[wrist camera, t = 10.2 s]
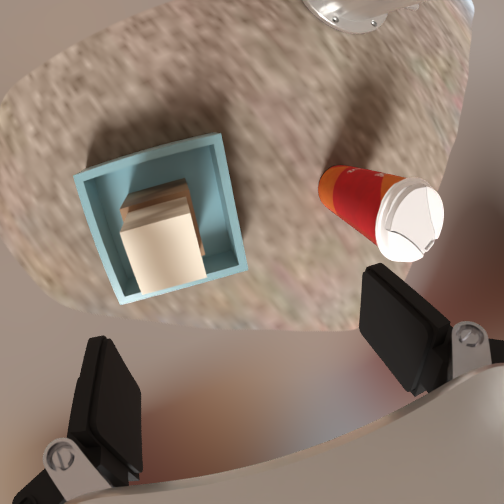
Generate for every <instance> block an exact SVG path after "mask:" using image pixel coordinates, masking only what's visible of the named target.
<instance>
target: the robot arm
mask: <svg viewBox="0 0 504 504" xmlns="http://www.w3.org/2000/svg"><path fill="white" fill-rule="evenodd" d="M302 1H303V2H304V4H305V5H306V6H307V8H308V9H309V10H310V11H311V12H312V13H313V14H314V15H315V16H316V17H317V18H318V19H320V20H321V21H322V22H324V23H325V24H327V25H328V26H330V27H332V28H334V29H336V30H339V31H342V32H345V33H350V34H364V33H368V32H371V31H374V30H376V29H377V28H379V27H380V26H381V25H382V24H383V23H384V22H385V20H386V17H387V15H388V13H389V12H392V11H395V10H398V9H401V8H404V9H408V10H412V11H417V10H418V9H419V3H422V2H426V1H430V0H302ZM359 329H360V332H361V334H362V335H363V337H364V338H365V339H366V340H367V342H368V343H369V344H370V345H371V347H372V348H373V349H374V351H375V352H376V353H377V354H378V356H379V357H380V358H381V359H382V361H383V362H384V363H385V365H386V366H387V367H388V368H389V370H390V371H391V372H392V373H393V375H394V376H395V377H396V379H397V380H398V381H399V382H400V384H401V385H402V386H403V388H404V389H405V390H406V391H407V392H409V391H410V392H411V393H412V394H413V395H414V396H417V395H419V394H421V393H423V392H424V391H427V392H428V394H426V395H425V396H423V397H421V398H419V399H417V400H415V401H413V402H412V403H410V404H408V405H406V406H404V407H403V408H400V409H398V410H397V411H395V412H393V413H391V414H389V415H387V416H384V417H382V418H380V419H378V420H376V421H374V422H372V423H370V424H368V425H366V426H363V427H361V428H358V429H356V430H354V431H352V432H349V433H347V434H345V435H342V436H339V437H337V438H334V439H332V440H329V441H327V442H324V443H321V444H319V445H316V446H313V447H310V448H308V449H305V450H302V451H299V452H296V453H293V454H290V455H286V456H283V457H280V458H277V459H273V460H270V461H266V462H263V463H259V464H255V465H251V466H248V467H244V468H239V469H235V470H231V471H226V472H221V473H217V474H211V475H206V476H201V477H195V478H189V479H182V480H175V481H169V482H161V483H153V484H143V485H133V486H129V482H128V481H139V473H140V472H142V470H143V462H142V438H141V392H140V389H139V387H138V385H137V383H136V381H135V380H134V378H133V377H132V375H131V373H130V372H129V370H128V368H127V367H126V365H125V363H124V361H123V360H122V358H121V356H120V354H119V352H118V351H117V349H116V347H115V345H114V343H113V341H112V340H111V339H107V338H106V337H105V336H98V337H93V338H90V339H89V340H88V343H87V347H86V351H85V356H84V360H83V364H82V368H81V373H80V377H79V378H78V380H77V384H76V389H75V393H74V398H73V404H72V409H71V414H70V420H69V426H68V433H67V438H58V439H55V440H54V441H52V442H51V443H50V444H49V445H48V446H47V447H46V449H45V451H44V454H43V464H44V466H45V469H44V470H43V471H42V472H41V473H39V475H37V476H36V477H35V478H34V479H33V480H32V481H31V482H30V483H28V485H26V486H25V487H24V488H23V489H22V490H21V491H20V492H18V493H17V495H16V496H15V497H14V499H13V502H12V504H504V341H503V340H495V339H488V336H487V333H486V331H485V330H484V328H482V327H481V326H480V325H478V324H476V323H474V322H468V321H466V322H460V323H458V324H456V325H455V326H454V327H452V326H450V321H449V320H448V319H447V318H446V317H444V316H443V315H442V314H441V313H440V312H439V311H438V310H437V309H435V308H434V307H433V306H432V305H431V304H430V303H429V302H427V301H426V300H425V299H424V298H423V297H422V296H421V295H419V294H418V293H417V292H416V291H415V290H413V289H412V288H411V287H410V286H409V285H408V284H407V283H405V282H404V281H403V280H402V279H401V278H399V277H398V276H397V275H396V274H395V273H393V272H392V271H391V270H390V269H388V268H387V267H386V266H385V265H384V264H382V263H378V264H375V265H371V266H368V267H367V268H366V270H365V272H363V275H362V292H361V307H360V320H359Z"/></svg>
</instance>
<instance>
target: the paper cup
mask: <svg viewBox="0 0 504 504" xmlns="http://www.w3.org/2000/svg"><path fill="white" fill-rule="evenodd" d="M318 193H319V197H320V200H321V201H322V203H323V204H324V205H325V206H326V207H327V208H328V209H329V210H331V211H332V212H333V213H335V214H336V215H337V216H339V217H340V218H341V219H343V220H344V221H345V222H347V223H348V224H349V225H351V226H352V227H353V228H355V229H356V230H357V231H359V232H360V233H361V234H363V235H364V236H365V237H366V238H368V239H369V240H370V241H372V242H373V243H374V244H376V245H377V246H378V247H379V249H380V251H381V253H382V254H383V255H384V256H385V257H387V258H388V259H390V260H392V261H402V262H413V261H416V260H418V259H420V258H422V257H423V254H424V253H425V251H426V252H427V251H428V250H429V249H430V248H431V246H432V245H433V244H434V240H435V239H437V238H438V237H439V235H440V232H441V229H442V225H443V219H444V210H443V205H442V201H441V198H440V196H439V195H438V193H437V192H436V191H435V190H434V189H433V188H432V186H431V185H430V184H429V183H428V182H427V181H425V180H424V179H421V178H418V177H409V178H404V177H400V176H395V175H391V174H386V173H382V172H377V171H372V170H367V169H362V168H357V167H351V166H345V165H337V166H333V167H331V168H329V169H328V170H327V171H326V172H325V173H324V174H323V175H322V177H321V179H320V182H319V186H318Z"/></svg>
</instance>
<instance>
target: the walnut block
mask: <svg viewBox="0 0 504 504" xmlns="http://www.w3.org/2000/svg"><path fill="white" fill-rule="evenodd" d="M182 197H186V199H187V202H188V206H189V210H190V214H191V218H192V222H193V226H194V230H195V234H196V238H197V241H198V245H199V249H200V253H201V256H203V255H205V252H204V248H203V244H202V240H201V236H200V232H199V228H198V224H197V220H196V216H195V212H194V208H193V204H192V200H191V196H190V192H189V188H188V185H187V182H186V179H185V178H182V179H178V180H175V181H171V182H167V183H164V184H160V185H156V186H153V187H149V188H146V189H143V190H139V191H136V192H132V193H129V194H128V195H127V197H126V198H125V200H124V202H123V204H122V206H121V207H120V209H119V210H120V213H121V216H122V219H123V222H124V221H125V218H126V216H127V214H128V212H132V211H135V210H138V209H142V208H145V207H149V206H152V205H156V204H160V203H163V202H167V201H171V200H174V199H178V198H182Z"/></svg>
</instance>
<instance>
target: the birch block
mask: <svg viewBox="0 0 504 504" xmlns="http://www.w3.org/2000/svg"><path fill="white" fill-rule="evenodd" d="M120 235H121V238H122V241H123V244H124V247H125V250H126V253H127V256H128V258H129V261H130V264H131V267H132V269H133V272H134V275H135V277H136V280H137V283H138V285H139V288H140V290H141V293H142V295H144V294H148V293H152V292H155V291H159V290H163V289H166V288H170V287H174V286H178V285H181V284H185V283H189V282H192V281H196V280H200V279H203V278H207V275H206V272H205V268H204V264H203V260H202V257H201V253H200V249H199V245H198V241H197V238H196V234H195V230H194V226H193V222H192V218H191V214H190V210H189V206H188V202H187V199H186V197H182V198H178V199H174V200H171V201H167V202H163V203H160V204H156V205H152V206H149V207H145V208H142V209H138V210H135V211H132V212H128V214H127V216H126V218H125V221H124V223H123V226H122V228H121V231H120Z"/></svg>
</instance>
